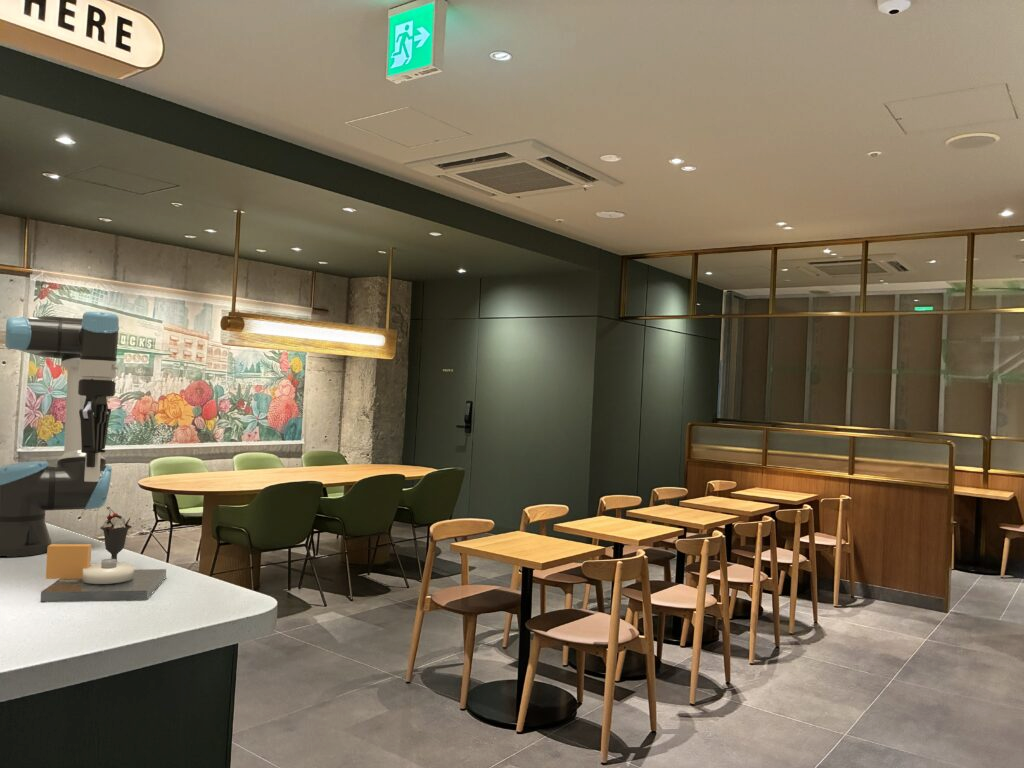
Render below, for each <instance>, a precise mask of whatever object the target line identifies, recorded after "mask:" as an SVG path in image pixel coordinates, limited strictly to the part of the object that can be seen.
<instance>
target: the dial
mask: <svg viewBox="0 0 1024 768" xmlns="http://www.w3.org/2000/svg"><path fill="white" fill-rule="evenodd" d="M92 546H93V543H51V545H49V546H48V547H47V552H46V564H45V566H46V567H45V569H46V570H45V580H55V579H57V580H59V579H82V581H83V582H85V583H91V584H111V583H119V582H125V581H128V580H131V579H133V577H134V570H135V565H134V564H133V563H130V562H125V561H124V562H123V561H122V562H120V561H118V558H117V559H111V558H105V559H101V562H98V563H92V561H91V560H92V549H93V547H92ZM91 563H92V564H91Z"/></svg>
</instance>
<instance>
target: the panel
mask: <svg viewBox="0 0 1024 768" xmlns="http://www.w3.org/2000/svg"><path fill="white" fill-rule="evenodd" d="M165 577H166V578H167V569H165V568H164V569H163V568H162V569H160V568H159V569H157V568H155V569H154V568H153V569H150V568H149V569H146V568H145V569H142V568H141V569H137V568H136V569H134V577H133V579H131V580H128V581H125V582H119V583H111V584H91V583H85V582H83V581H82V579H57V580H56V581H55V582H53V583H52V584H50V585H48V586H47V587H46V588H45V589H43V590H42V591H40V601H48V603H50V602H51V603H53V602H54V603H59V602H60V601H62V602H63V601H64V602H104V601H105V602H107V601H108V602H109V601H110V602H111V601H114V602H115V601H118V602H120V601H121V602H122V601H123V602H124V600H125V601H147V600H148V599H149V598H150V597H151V596H150V595H153V593H154V592H155V591H156V590H157V589H158V588H157V587H160V585H161V584H162V583H163V582H164V581H165V579H166V578H165ZM164 578H165V579H164ZM163 580H164V581H163ZM162 581H163V582H162ZM161 582H162V583H161ZM160 583H161V584H160ZM159 584H160V585H159ZM156 588H157V589H156ZM155 589H156V590H155ZM154 590H155V591H154ZM153 591H154V592H153ZM152 592H153V593H152ZM149 596H150V597H149ZM148 597H149V598H148ZM58 601H59V602H58ZM60 603H61V602H60Z"/></svg>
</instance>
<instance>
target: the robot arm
mask: <svg viewBox="0 0 1024 768" xmlns="http://www.w3.org/2000/svg"><path fill="white" fill-rule="evenodd" d="M119 320H120V319H119V316H118V315H117V314H115V313H112V312H104V311H85V312H84V313H83V314H82V318H79V317H77V318H76V317H64V316H55V315H53V316H52V315H40V316H32V317H23V316H21V317H14V316H11V317H9V318H7V319H6V321H5V322H6V323H5V324H6V325H5V343H4V344H5V347H6V348H7V349H9V350H16V351H17V350H18V351H22V352H24V353H28V354H29V355H33V356H38V357H44V358H53V359H61V361H60V363H61V366H62V367H63V368H64V369H65V370H66V371H67V373H66V375H67V377H66V378H67V379H66V394H65V395H66V398H65V399H66V400H65V401H66V402H65V422H64V423H65V425H64V427H65V428H64V445H63V446H64V449H63V451H64V452H63V455H61V456H60V457H59V458H58V459H57V461H56V462H57V464H56V465H55V466H50V464H49V462H48V461H47V460H33V461H25V462H15V463H10V464H6V465H2V466H0V556H7V557H6V558H17V557H18V556H19V557H27V556H28V557H29V556H35V555H42V554H44V553H47V547H48V546H49V545H51V544H52V541H51V540H52V539H51V537H50V534H49V530H48V527H47V524H46V511H66V510H68V511H69V510H84V511H86V510H90V509H91V510H92V509H101V508H102V507H103V506H104V505H105V504H106V501H107V498H108V494H109V489H110V484H111V479H112V469H113V468H112V466H109V465H108V464H107V465H106V462H107V461H106V458H105V457H104V456H103V455H102V453H106V449H105V448H106V444H107V443H106V442H107V437H108V436H107V435H108V430H109V429H108V428H109V421H110V416H111V413H112V408H109V405H108V401H107V400H108V399H107V398H108V397H111V398H112V397H114V396H115V395H116V381H115V380H113V379H116V377H117V375H116V373H117V370H118V369H119V366H118V365H117V361H118V360H117V354H118V353H117V352H118V340H119V330H120V326H119ZM10 556H11V557H10Z"/></svg>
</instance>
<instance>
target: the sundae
mask: <svg viewBox="0 0 1024 768" xmlns="http://www.w3.org/2000/svg"><path fill="white" fill-rule="evenodd" d="M106 509H107V510H108V511H109V512H112V513H113V514H112V515H111V513H109V514H108V515H107V516H106V519H107V520H105V521H104V523H103V525H102V526H101V527H100V530H102V531H103V535H104V546H105V550H106V551H107V552H108V553H109V554H111V558H110V559H117V560H118V554H119V553H120V552H122V551H123V549H124V548H125V545H126V539H127V535H128V531H129V529H132V525H129V522H130V520H131V517H129V518H128V519H127V521H126V520H125V518H124V517H123V516H122V515H119V514H118V513H116V512H114V511H113V509H111V507H110V506H107V507H106Z"/></svg>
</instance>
